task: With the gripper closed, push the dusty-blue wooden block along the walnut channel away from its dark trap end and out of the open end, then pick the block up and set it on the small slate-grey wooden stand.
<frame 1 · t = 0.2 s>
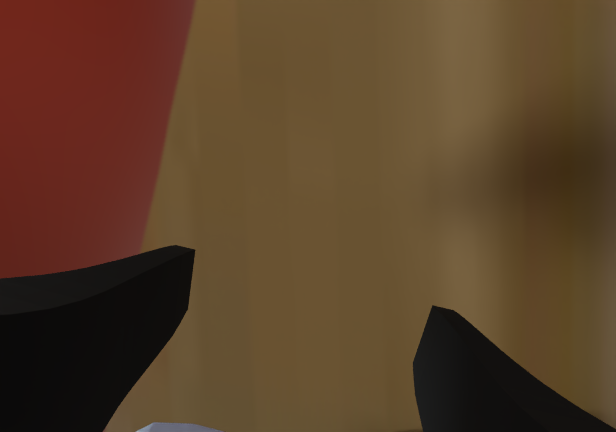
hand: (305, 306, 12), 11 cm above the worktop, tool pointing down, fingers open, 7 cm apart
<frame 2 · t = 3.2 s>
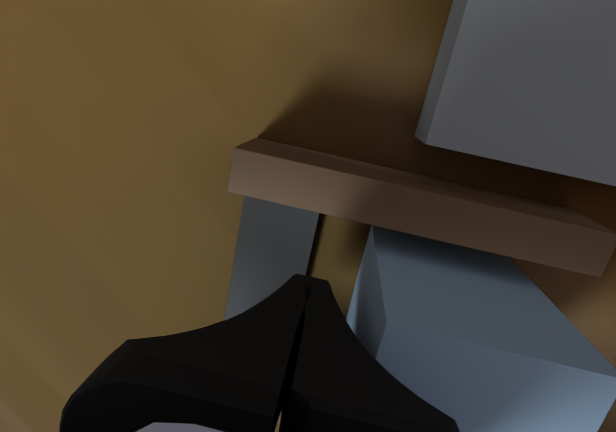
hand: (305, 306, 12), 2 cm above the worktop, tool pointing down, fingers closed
stand: (560, 47, 11), on the worktop
block: (419, 299, 14), on the worktop, touching gripper
channel: (376, 289, 14), on the worktop
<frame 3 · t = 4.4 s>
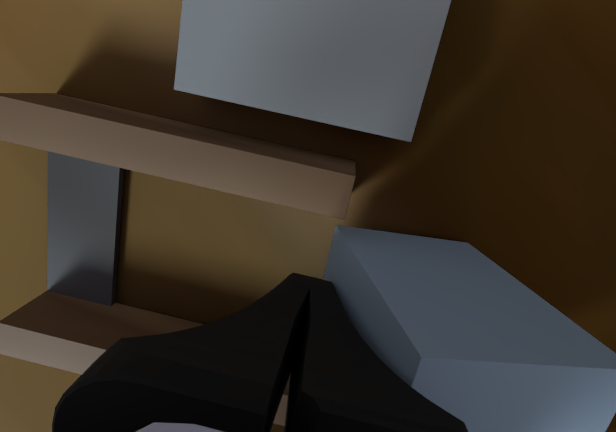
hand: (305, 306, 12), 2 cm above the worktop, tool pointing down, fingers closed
block: (386, 296, 13), point 1 cm above the worktop, tilted 16°, touching gripper
channel: (188, 245, 14), on the worktop
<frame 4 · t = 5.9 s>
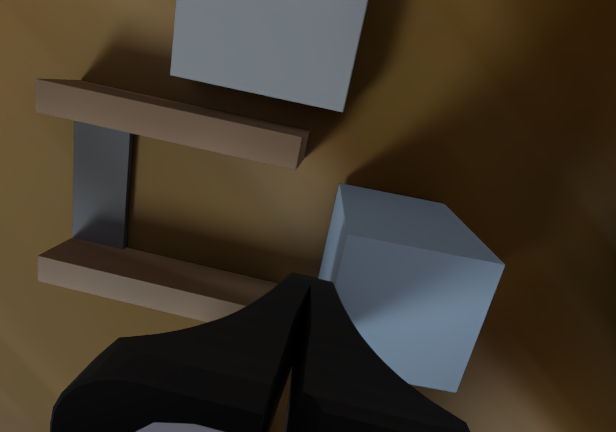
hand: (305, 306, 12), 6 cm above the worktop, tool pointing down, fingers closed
stand: (281, 7, 15), on the worktop
block: (378, 242, 18), on the worktop
channel: (183, 199, 18), on the worktop
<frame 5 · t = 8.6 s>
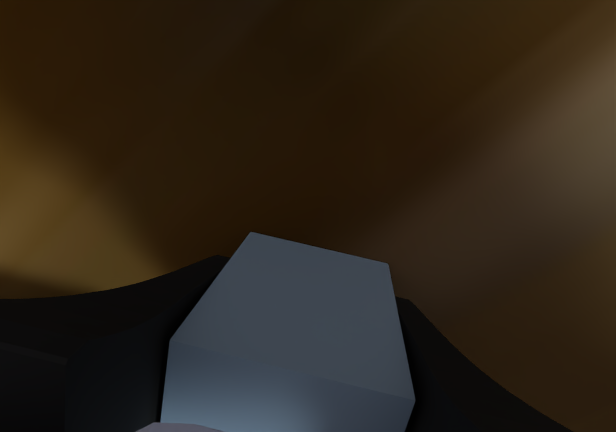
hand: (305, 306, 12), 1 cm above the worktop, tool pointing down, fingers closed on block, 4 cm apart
block: (304, 308, 14), on the worktop, touching gripper
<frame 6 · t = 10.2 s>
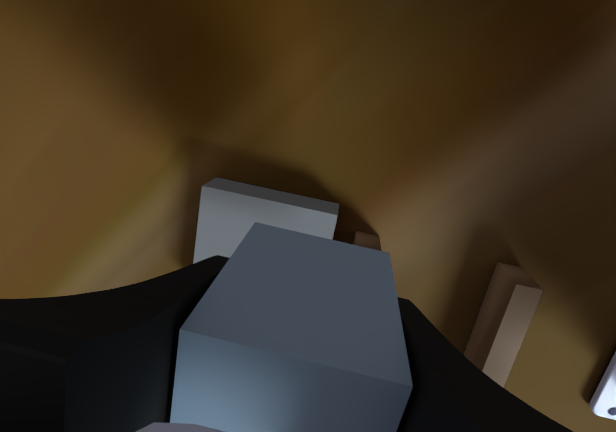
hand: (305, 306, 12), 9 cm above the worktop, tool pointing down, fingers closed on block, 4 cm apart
stand: (267, 248, 21), on the worktop
block: (308, 295, 14), point 7 cm above the worktop, touching gripper
channel: (411, 332, 22), on the worktop
when the fingers open (5 cm above the worktop, at t = 11.7 s): block stays where it is, resting on stand.
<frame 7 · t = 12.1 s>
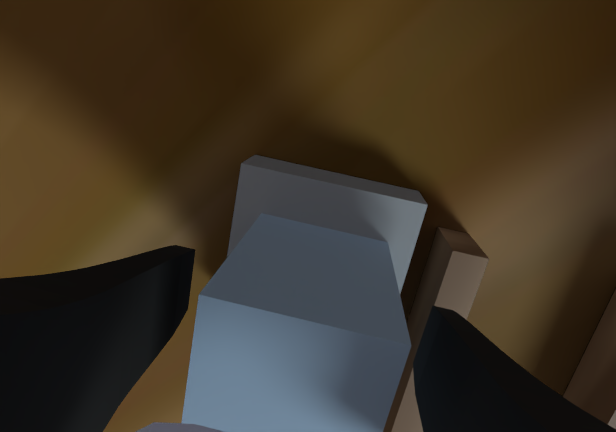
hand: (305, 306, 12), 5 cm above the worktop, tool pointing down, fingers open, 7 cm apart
stand: (318, 248, 16), on the worktop
block: (311, 284, 15), point 2 cm above the worktop, touching stand
channel: (501, 358, 17), on the worktop
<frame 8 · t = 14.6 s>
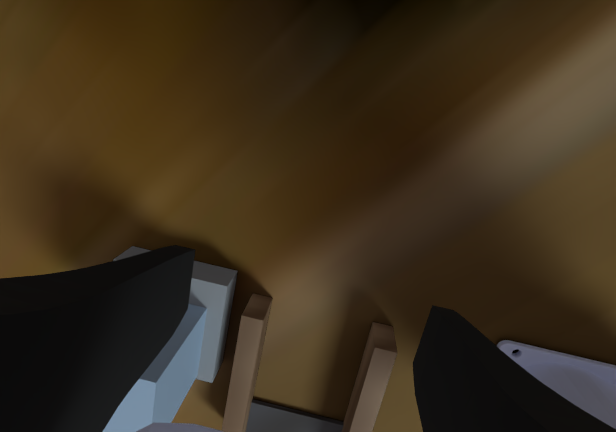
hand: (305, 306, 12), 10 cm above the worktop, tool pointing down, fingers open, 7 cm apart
stand: (179, 305, 25), on the worktop
block: (163, 333, 23), point 2 cm above the worktop, touching stand
channel: (305, 378, 25), on the worktop
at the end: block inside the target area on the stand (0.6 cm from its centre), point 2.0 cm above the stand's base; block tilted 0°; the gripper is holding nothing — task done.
